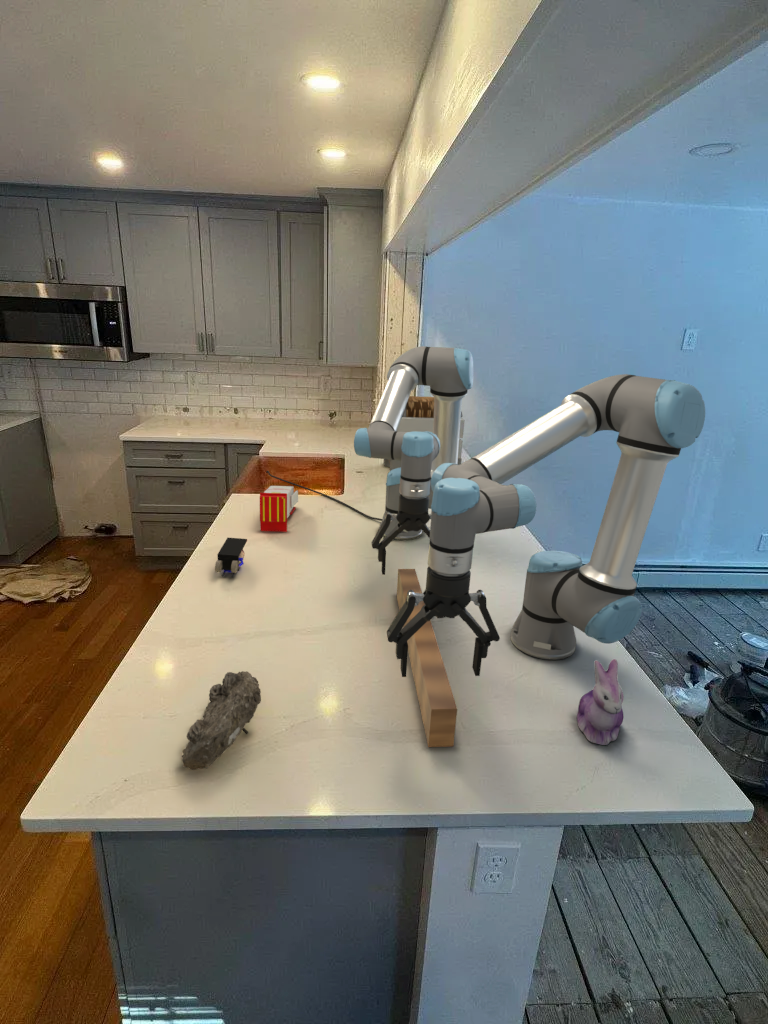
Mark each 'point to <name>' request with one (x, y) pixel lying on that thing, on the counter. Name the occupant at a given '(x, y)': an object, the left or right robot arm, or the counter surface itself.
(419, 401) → the grey tall slatted box
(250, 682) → the fossil
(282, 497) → the toy
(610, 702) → the figurine
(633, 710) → the counter surface
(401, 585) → the post
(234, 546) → the figurine character
